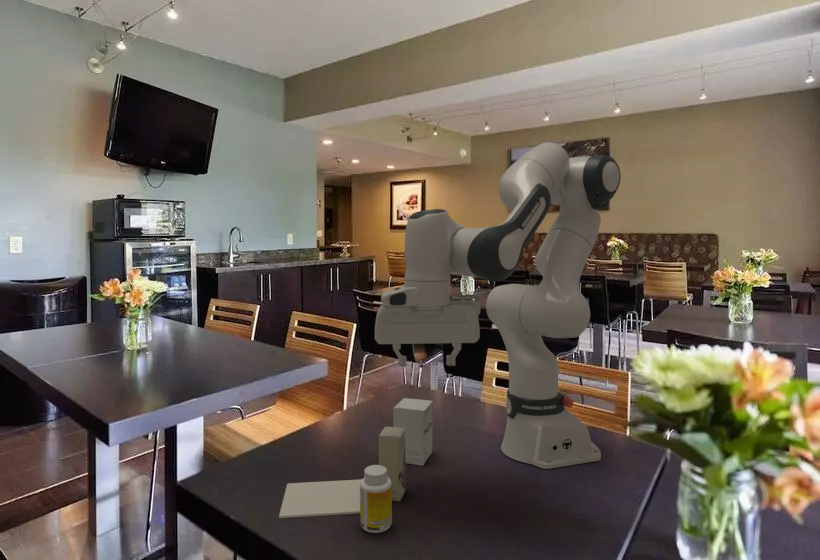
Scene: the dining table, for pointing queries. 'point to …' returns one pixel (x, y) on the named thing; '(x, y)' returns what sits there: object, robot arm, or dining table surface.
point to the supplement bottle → (375, 500)
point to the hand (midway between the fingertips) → (426, 365)
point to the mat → (321, 498)
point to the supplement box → (415, 428)
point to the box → (393, 458)
